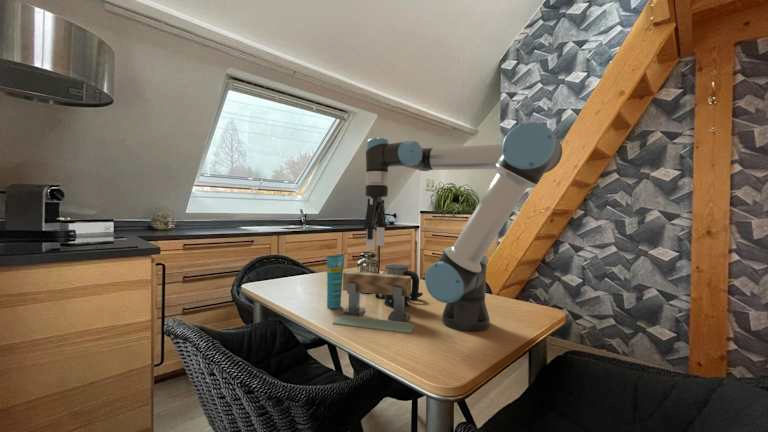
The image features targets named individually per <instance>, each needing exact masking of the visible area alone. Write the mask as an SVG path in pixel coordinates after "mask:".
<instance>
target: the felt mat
mask: <svg viewBox="0 0 768 432" xmlns="http://www.w3.org/2000/svg"><path fill="white" fill-rule="evenodd" d="M332 325H338V326H339V325H340V326H349V327H355V328H364V329H372V330H379V331H387V332H395V333H404V334H412V333H413V332H414V331H413V330H414V328H415V327H416V323H414V322H406V321H397V320H388V319H380V318H371V317H364V316H354V315H345V314H341V315H340V316H339V317H338V318H337V319H335V320H334V321H333V322H332Z"/></svg>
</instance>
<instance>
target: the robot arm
mask: <svg viewBox="0 0 768 432" xmlns="http://www.w3.org/2000/svg"><path fill="white" fill-rule="evenodd" d="M562 155H563V146H562V144H561V141H560V140H559V138H558V137H556V134H555V132H554V131H553V130H552V129H551V128H550V127H548V126H546V125H545V124H542V123H540V122H536V121H527V122H523V123H520V124H517V125H515V126H514V127H512V128H511V130H509V131H508V133H506V135H505V137H504V138H503V142H502V143H501V144H500V143H499V144H482V145H464V146H444V147H443V146H442V147H430V148H429V147H428V148H427V147H426V148H424V147H422V146H421V145H420V143H419V142H418V141H416V140H413V141H412V140H406V141H400V142H393V143H389V140H388V139H387V138H384V137H372V138H369V139H368V140H367V141H366V148H365V164H366V167H365V175H364V176H363V177H364V179H365V184H367V185H366V186H365V197H368V198H367V206H366V214H365V220H364V226H363V230H366V234H365V235H366V238H365V239H366V240H365V242H366V243H365V245H366V246H365V248H366V249H365V250H369V251H370V250H371V251H375V250H376V246H379V247H381V246H383V247H384V246H385V228H387V226H388V225H387V221H386V219H387V218H386V211H385V199H382V198H386V197H388V190H389V189H388V188H389V187H388V184H389V168H390V167H391V168H392V167H405V168H409V169H414V170H418V171H421V172H429V171H438V170H439V171H440V170H442V171H444V170H445V171H446V170H449V171H450V170H454V171H457V170H461V171H462V170H496V173H495V176H494V177H493V180H492V181H491V183H490V184H489V186H488V187H487V189H486V190H485V192H484V195H482V198H481V199H480V201H479V203H478V204H477V206H476V207H475V209H474V211H473V212H472V214H471V216H470V218H469V219H468V221H467V222H466V225H465V226H464V228H463V229H462V230H461V232H460V234H459V236H458V237H457V239H456V241H455V242H454V244H453V245H452V246H448V247H446V248H444V250H443V252H442V254H441V255H440V257H439V259H438V261H436V262H433V263H432V264H431V265H430V266H429V267H428V268H427V269H426V272H425V275H424V283H425V286H426V290H427V291H428V293H429V295H430V296H431V297H432V298H433V299H435V300H436V301H438V302H439V303H444V304H445V307H444V308H443V311H442V316H441V321H442V323H443V324H444V325H445V326H447V327H449V328H452V329H454V330H455V329H456V330H460V331H466V332H468V331H469V332H480V331H481V332H482V331H485V330H488V329H489V328H490V326H491V325H490V324H491V323H490V322H491V319H490V315H489V312H488V308H487V304H486V284H487V283H486V282H487V281H486V280H487V267H488V265H487V258H486V256H485V254H487V252H488V250H489V248H490V247H491V245H492V244H493V242H494V241H495V239H496V238H497V236H498V235H499V233H500V232H501V230H502V228H503V227H504V225H505V224H506V222H507V220H508V219H509V218H510V215H511V214H512V213H513V211H514V210H515V208H516V206H517V205H518V204H519V201H520V200H521V198H522V197H523V195H524V194H525V193H526V191H527V189H529V188H533V187H536V186H537V185H538V183H540V181H541V179H542V177H543V176H544V174H546V173H549V172H551V171H552V170H554V169H555V168H556V167H557V166H558V164H559V163H560V162H561V160H562ZM376 225H377V227H376V229H375V226H376Z"/></svg>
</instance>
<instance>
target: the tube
mask: <svg viewBox="0 0 768 432" xmlns="http://www.w3.org/2000/svg"><path fill="white" fill-rule="evenodd" d="M345 257H346V256H345V254H335V255H326V278H327V280H326V281H327V283H326V285H327V290H326V293H327V294H326V295H327V296H326V297H327V298H326V307H327V308H328V309H340V308H341V303H342V291H343V273H344V263H345Z"/></svg>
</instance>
